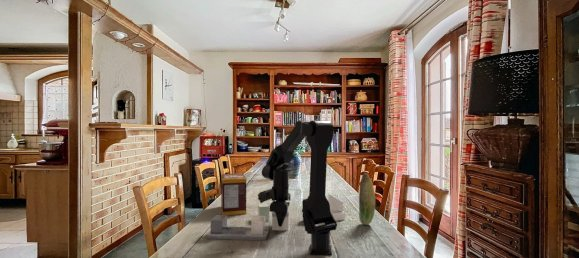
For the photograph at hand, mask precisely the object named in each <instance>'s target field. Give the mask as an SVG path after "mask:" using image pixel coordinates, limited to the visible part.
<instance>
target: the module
mask: <svg viewBox="0 0 579 258" xmlns="http://www.w3.org/2000/svg"><path fill="white" fill-rule="evenodd" d="M289 229H290V208H288V211H287V214H286V216H285V219H284V221H283V224H282V226H279V225H278V221H277V217H276V213H275V212H271V230H272V231H285V230H286V232H287V231H289Z"/></svg>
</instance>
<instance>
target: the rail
mask: <svg viewBox="0 0 579 258" xmlns="http://www.w3.org/2000/svg"><path fill="white" fill-rule="evenodd" d="M266 222H267V221H266V216H258V215H254V216H253V218H252V220H251V221H250V226H228V215H222V214H216V215H214V217H212V218H211V219H210V231H209V232H207V233H206V240H208V239H209V240H235V241H236V240H240V241H243V240H245V241H266V240H267V237H268V235H269V232H270V231H269V227H266V225H267V224H266Z"/></svg>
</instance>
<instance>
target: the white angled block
mask: <svg viewBox="0 0 579 258" xmlns="http://www.w3.org/2000/svg"><path fill="white" fill-rule="evenodd" d="M327 196H328V198H327V200H328V202H329V204H330V212H331V214H332V215H333V217H334V219H335V221H336V222H337V221H345V220H346V212H345V211H344V202H343V201H341V200H339V198H336V197H334V196H333V195H331V194H328V195H327Z"/></svg>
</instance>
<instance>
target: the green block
mask: <svg viewBox="0 0 579 258" xmlns="http://www.w3.org/2000/svg"><path fill="white" fill-rule="evenodd" d="M257 216H266V222H270V204H269V203H267V202H264V203H258V204H257Z"/></svg>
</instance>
